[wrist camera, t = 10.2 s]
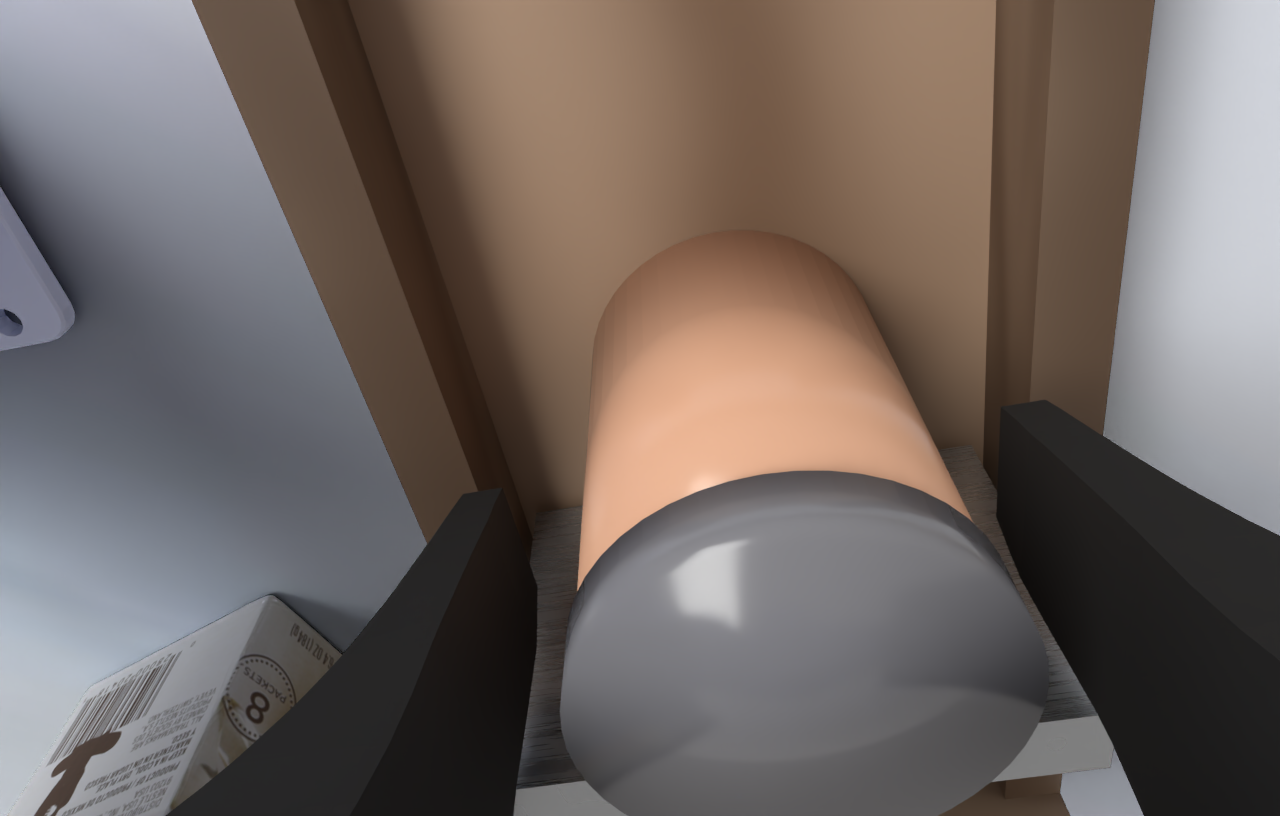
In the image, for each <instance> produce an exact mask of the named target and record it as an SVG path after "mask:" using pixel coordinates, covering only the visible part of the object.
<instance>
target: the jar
mask: <svg viewBox="0 0 1280 816" xmlns="http://www.w3.org/2000/svg"><path fill="white" fill-rule="evenodd" d="M1048 689H1049V663H1048V658H1047V654H1046V650H1045V645H1044V642H1043V640H1042V638H1041V636H1040V634H1039V632H1038V629H1037V627H1036V625H1035V623H1034V621H1033V619H1032V617H1031V615H1030V613H1029V611H1028V609H1027V607H1026V605H1025V603H1024V601H1023V599H1022V597H1021V595H1020V593H1019V591H1018V590H1017V588H1016V586H1015V584H1014V582H1013V580H1012V578H1011V576H1010V574H1009V572H1008V570H1007V568H1006V566H1005V564H1004V562H1003V560H1002V558H1001V556H1000V554H999V553H998V551H997V550H996V548H995V547H994V546H993V544H992V543H991V541H990V540H989V539H988V537H987V536H986V535H985V534H984V533H983V532H982V531H981V530H980V529H979V528H978V527H977V526H976V525H975V524H974V523H973V521H972V519H971V517H970V515H969V513H968V511H967V508H966V506H965V504H964V502H963V500H962V498H961V496H960V494H959V492H958V490H957V488H956V486H955V484H954V482H953V480H952V478H951V476H950V474H949V472H948V470H947V468H946V466H945V464H944V462H943V460H942V458H941V456H940V454H939V452H938V449H937V447H936V445H935V443H934V441H933V439H932V437H931V435H930V433H929V431H928V429H927V427H926V425H925V423H924V421H923V419H922V417H921V415H920V413H919V411H918V409H917V407H916V405H915V403H914V401H913V399H912V397H911V395H910V393H909V391H908V388H907V386H906V384H905V382H904V380H903V378H902V376H901V374H900V372H899V370H898V368H897V366H896V364H895V362H894V360H893V358H892V356H891V354H890V352H889V350H888V348H887V346H886V344H885V342H884V340H883V338H882V336H881V334H880V332H879V329H878V327H877V325H876V323H875V321H874V319H873V317H872V315H871V313H870V311H869V309H868V307H867V305H866V303H865V301H864V299H863V297H862V295H861V293H860V291H859V290H858V288H857V287H856V285H855V284H854V282H853V281H852V279H851V278H850V277H849V276H848V275H847V274H846V273H845V272H844V271H843V269H842V268H841V267H840V266H839V265H838V264H836V263H835V262H834V261H833V260H831V259H830V258H829V257H827V256H826V255H825V254H823V253H822V252H820V251H818V250H816V249H815V248H813V247H811V246H809V245H808V244H805V243H803V242H800V241H798V240H795V239H793V238H790V237H786V236H782V235H778V234H774V233H769V232H761V231H753V230H731V231H723V232H715V233H710V234H706V235H702V236H698V237H694V238H691V239H688V240H686V241H683V242H680V243H678V244H675V245H673V246H671V247H669V248H667V249H665V250H664V251H662V252H660V253H658V254H656V255H655V256H653V257H652V258H650V259H649V260H648V261H646V262H645V263H643V264H642V265H641V266H639V267H638V268H637V269H636V270H635V271H634V272H633V273H632V274H631V275H630V276H629V277H628V278H627V279H626V280H625V281H624V282H623V283H622V285H621V286H620V287H619V288H618V289H617V291H616V292H615V293H614V295H613V296H612V298H611V300H610V301H609V303H608V304H607V306H606V308H605V310H604V312H603V315H602V317H601V319H600V321H599V324H598V328H597V331H596V335H595V338H594V346H593V354H592V369H591V385H590V400H589V416H588V431H587V446H586V462H585V477H584V493H583V508H582V523H581V539H580V554H579V570H578V585H577V593H576V595H575V597H574V600H573V603H572V607H571V610H570V613H569V616H568V621H567V629H566V637H565V650H564V663H563V676H562V690H561V703H560V718H561V731H562V734H563V738H564V741H565V745H566V748H567V751H568V753H569V755H570V757H571V759H572V761H573V763H574V765H575V767H576V768H577V770H578V771H579V772H580V774H581V775H582V776H583V778H584V779H585V780H586V782H587V783H588V784H589V785H590V786H591V787H592V788H593V789H594V790H595V791H596V792H597V793H598V794H599V795H600V796H601V797H602V798H603V799H604V800H606V801H607V802H608V803H610V804H611V805H613V806H614V807H615V808H617V809H618V810H619V811H621V812H622V813H624V814H626V815H627V816H938V815H940V814H942V813H944V812H946V811H948V810H950V809H952V808H953V807H955V806H957V805H958V804H960V803H962V802H963V801H965V800H967V799H968V798H970V797H971V796H973V795H974V794H976V793H977V792H978V791H980V790H981V789H982V788H984V787H985V786H986V785H988V784H989V783H990V782H992V781H993V780H994V779H995V778H996V777H997V776H998V775H999V774H1000V773H1001V772H1002V771H1003V770H1005V769H1006V768H1007V767H1008V766H1009V765H1010V764H1011V763H1012V761H1013V760H1014V759H1015V758H1016V757H1017V755H1018V754H1019V753H1020V752H1021V750H1022V749H1023V748H1024V747H1025V746H1026V744H1027V742H1028V741H1029V739H1030V737H1031V736H1032V734H1033V732H1034V731H1035V729H1036V727H1037V725H1038V723H1039V720H1040V718H1041V715H1042V713H1043V710H1044V708H1045V704H1046V699H1047V694H1048Z"/></svg>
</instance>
